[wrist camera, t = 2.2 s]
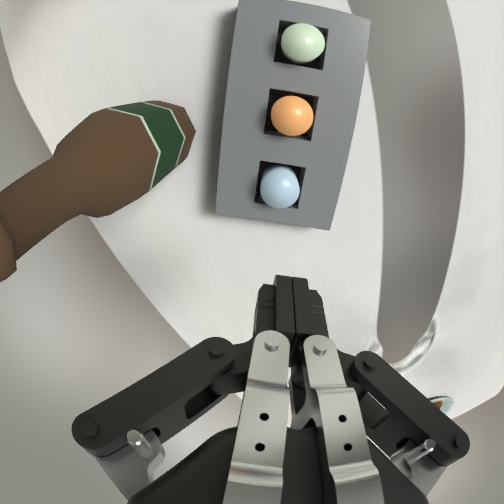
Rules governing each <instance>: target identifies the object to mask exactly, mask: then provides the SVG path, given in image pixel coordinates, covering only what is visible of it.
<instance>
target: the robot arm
mask: <svg viewBox="0 0 504 504" xmlns="http://www.w3.org/2000/svg"><path fill="white" fill-rule="evenodd" d="M288 367H291V375H290V378H289V381H288V383H289V387H287V379H288ZM243 391H244V394H243V399H242V405H241V410H240V415H239V420H238V424H237V427H232V428H228V429H226V430H223V431H220V432H218V433H216V434H215V435H213V436H212V437H210V438H209V439H208V440H207V441H205V442H204V443H203V444H202V445H201V446H199V447H198V448H197V449H196V450H194V451H193V452H192V453H191V454H189V455H188V456H187V457H186V458H184V459H183V460H182V461H180V462H179V463H178V464H177V465H175V466H174V467H173V468H171V469H170V470H169V471H167V472H166V473H164V474H163V475H162V476H160V477H159V478H157V479H156V480H155V481H154V480H153V475H154V472H155V470H156V468H157V467H158V466H159V465H160V464H161V463H162V462H163V460H164V458H165V451H164V448H163V446H162V444H163V443H164V442H165V441H167V440H168V439H170V438H171V437H173V436H174V435H175V434H177V433H178V432H180V431H181V430H183V429H184V428H186V427H187V426H188V425H190V424H191V423H192V422H194V421H195V420H197V419H198V418H199V417H201V416H202V415H203V414H205V413H206V412H207V411H208V410H210V409H211V408H213V407H214V406H215V405H216V404H218V403H219V402H220V401H222V400H223V399H224V398H225V397H227V396H228V394H230V393H237V392H243ZM367 392H369V393H370V394H371V395H372V396H373V397H374V398H375V399H376V400H377V401H378V402H379V403H380V404H381V405H382V406H384V407H385V408H386V409H387V410H386V409H385V408H383V407H382V406H381V405H380V404H379V403H378V402H377V401H376V400H375V399H374V398H373V397H372V396H371V395H370V394H368V393H367ZM289 394H290V403H291V413H292V422H291V427H290V428H289V427H287V419H288V407H289ZM72 435H73V437H74V439H75V441H76V442H77V443H78V444H79V445H80V446H82V447H83V448H84V449H85V450H86V451H87V452H88V453H89V454H90V455H92V456H93V457H94V458H96V460H97V461H98V462H99V464H100V465H101V467H102V468H103V470H104V471H105V472H106V474H107V475H108V476H109V478H110V479H111V480H112V482H113V483H114V484H115V485H116V487H117V488H118V489H119V490H120V492H121V493H122V494H123V495H124V496H125V498H126V499H127V500H128V503H127V504H429V502H428V500H427V497H426V496H427V495H428V493H429V492H430V491H431V489H432V488H433V486H434V485H435V484H436V482H437V481H438V479H439V478H440V476H441V475H442V473H443V472H444V470H445V469H446V467H447V466H448V465H450V464H452V463H454V462H455V461H457V460H459V459H460V458H462V457H464V456H465V455H466V454H467V452H468V450H469V446H470V441H469V438H468V435H467V434H466V433H465V432H464V431H463V430H462V429H461V428H460V427H459V426H458V425H456V424H455V423H454V422H453V421H452V420H451V419H450V418H449V417H448V416H446V415H445V414H444V413H443V412H442V411H441V410H440V409H439V408H437V407H436V406H435V405H434V404H433V403H432V402H431V401H430V400H428V399H427V398H426V397H425V396H424V395H423V394H422V393H420V392H419V391H418V390H417V389H416V388H415V387H414V386H413V385H411V384H410V383H409V382H408V381H407V380H406V379H405V378H404V377H402V376H401V375H400V374H399V373H398V372H397V371H396V370H394V369H393V368H392V367H391V366H390V365H389V364H388V363H386V362H385V361H384V360H383V359H382V358H381V357H380V356H378V355H377V354H375V353H373V352H370V351H362V352H360V353H358V354H357V355H356V357H355V356H352V355H349V354H346V353H343V352H341V351H339V350H338V349H336V346H335V344H334V343H333V341H332V340H330V339H329V336H328V330H327V324H326V318H325V314H324V308H323V302H322V298H321V296H320V295H319V294H318V292H317V291H316V290H309V287H308V281H307V279H306V278H298V277H290V276H282V275H275V279H274V283H273V285H268V284H263V285H262V287H261V288H260V289H259V292H258V297H257V303H256V309H255V315H254V327H253V337H252V339H250V340H249V341H247V342H245V343H241V344H234V345H232V343H231V342H229V341H228V340H226V339H224V338H220V337H211V338H207V339H205V340H203V341H202V342H200V343H199V344H197V345H196V346H194V347H193V348H191V349H190V350H188V351H186V352H185V353H183V354H182V355H180V356H178V357H177V358H175V359H174V360H172V361H170V362H169V363H167V364H166V365H164V366H162V367H161V368H159V369H157V370H156V371H154V372H153V373H151V374H149V375H148V376H146V377H144V378H143V379H141V380H139V381H138V382H136V383H134V384H132V385H131V386H129V387H127V388H126V389H124V390H122V391H121V392H119V393H117V394H115V395H114V396H112V397H110V398H108V399H107V400H105V401H103V402H101V403H100V404H98V405H96V406H94V407H92V408H90V409H89V410H87V411H85V412H83V413H81V414H80V415H79V416H77V417H76V418H75V420H74V421H73V424H72ZM366 435H367V436H368V437H369V438H370V439H371V440H372V441H373V442H374V443H375V444H376V445H377V446H378V447H379V448H381V449H382V450H383V451H384V452H385V453H386V454H387V455H388V456H389V457H390V458H391V459H390V460H389V459H388V458H387V457H386V456H385V455H384V454H383V453H382V452H381V451H380V450H379V449H378V448H377V447H376V446H375V445H374V444H373V443H372V442H371V441H370V440H369V439H368V438H367V437H366Z"/></svg>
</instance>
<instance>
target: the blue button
mask: <svg viewBox="0 0 504 504" xmlns="http://www.w3.org/2000/svg"><path fill="white" fill-rule="evenodd" d="M299 192H300V189H299V184H298V181H297V177H296V174H295V172H294V171H293V170H292V169H291V168H290V167H289V166H287V165H284V164H274V165H271V166H269V167H268V168H267V169H266V170H265V171H264V173H263V175H262V179H261V187H260V193H261V196H262V199H263V200H264V201H265V203H266V204H268V205H269V206H271V207H274V208H279V209H280V208H286V207H289V206H291V205H292V204H293V203H295V201H296V200H297V198H298V196H299Z"/></svg>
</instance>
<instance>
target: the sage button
mask: <svg viewBox="0 0 504 504" xmlns="http://www.w3.org/2000/svg"><path fill="white" fill-rule="evenodd" d="M324 47H325V40H324V37H323V35H322V33H321V32H320V31H319V30H318V29H317V28H315V27H314V26H312V25H309V24H305V23H297V24H293V25H291V26H289V27H288V28H287V29H286V30H285V31H284V33H283V35H282V39H281V51H282V53H283V55H284V56H285V57H286V58H287V59H288V60H290V61H292V62H294V63H298V64H305V63H309V62H311V61H313V60H314V59H315V58H317V57H318V56H319V55H320V54H321V53H322V52H323V50H324Z"/></svg>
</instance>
